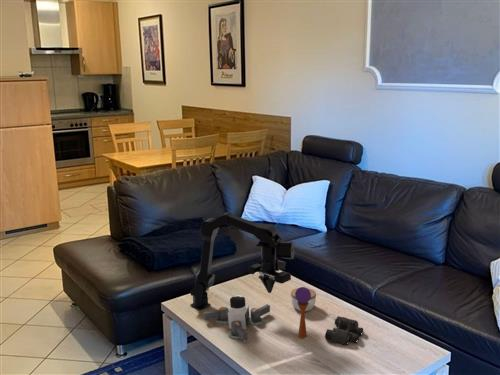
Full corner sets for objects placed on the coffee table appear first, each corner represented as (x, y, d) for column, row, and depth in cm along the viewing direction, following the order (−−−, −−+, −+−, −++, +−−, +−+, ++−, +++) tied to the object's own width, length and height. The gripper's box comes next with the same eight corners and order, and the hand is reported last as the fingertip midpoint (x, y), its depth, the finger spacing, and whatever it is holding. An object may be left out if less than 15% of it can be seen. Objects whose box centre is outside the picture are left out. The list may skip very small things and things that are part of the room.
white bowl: (287, 312, 208) (287, 292, 206) (294, 302, 218) (295, 282, 216) (312, 317, 204) (312, 296, 202) (318, 306, 214) (318, 286, 212)
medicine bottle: (246, 329, 193) (244, 301, 190) (229, 329, 195) (226, 301, 192) (250, 320, 200) (247, 293, 197) (233, 320, 201) (230, 293, 198)
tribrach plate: (204, 324, 198) (204, 323, 198) (238, 308, 212) (238, 307, 212) (236, 341, 185) (236, 339, 185) (271, 323, 199) (271, 321, 199)
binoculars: (365, 330, 193) (366, 315, 192) (353, 349, 180) (353, 333, 178) (338, 323, 199) (339, 309, 197) (324, 341, 185) (325, 326, 184)
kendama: (313, 335, 189) (314, 287, 185) (305, 341, 185) (305, 292, 180) (299, 330, 193) (300, 283, 188) (291, 337, 188) (292, 288, 184)
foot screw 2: (255, 322, 198) (255, 312, 197) (248, 319, 200) (248, 309, 200) (272, 314, 205) (272, 304, 204) (265, 311, 207) (265, 301, 206)
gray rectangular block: (229, 331, 191) (229, 321, 190) (239, 329, 193) (239, 319, 192) (240, 343, 182) (240, 332, 181) (250, 340, 184) (249, 330, 183)
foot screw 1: (227, 315, 204) (227, 305, 203) (229, 319, 200) (229, 310, 199) (203, 318, 201) (203, 309, 200) (205, 323, 198) (205, 313, 197)
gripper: (299, 256, 197) (299, 292, 201) (264, 247, 210) (265, 281, 213) (281, 263, 190) (282, 301, 193) (246, 253, 202) (248, 289, 205)
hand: (269, 292), depth 201 cm, fingers closed
